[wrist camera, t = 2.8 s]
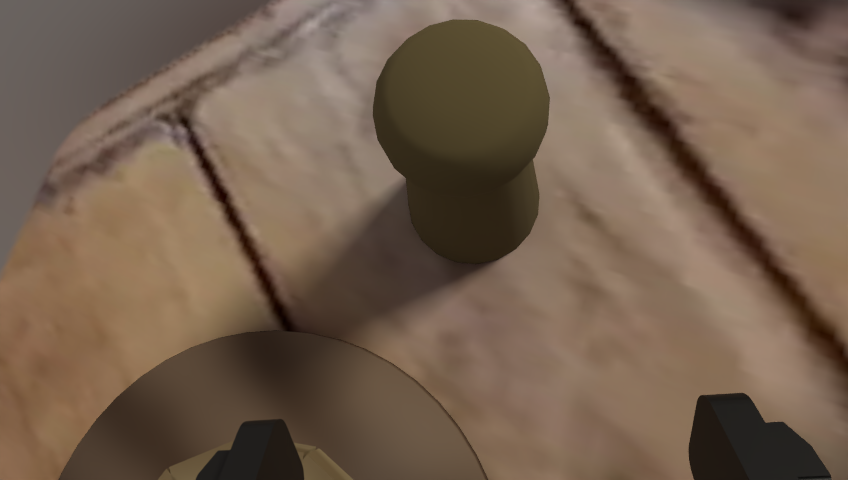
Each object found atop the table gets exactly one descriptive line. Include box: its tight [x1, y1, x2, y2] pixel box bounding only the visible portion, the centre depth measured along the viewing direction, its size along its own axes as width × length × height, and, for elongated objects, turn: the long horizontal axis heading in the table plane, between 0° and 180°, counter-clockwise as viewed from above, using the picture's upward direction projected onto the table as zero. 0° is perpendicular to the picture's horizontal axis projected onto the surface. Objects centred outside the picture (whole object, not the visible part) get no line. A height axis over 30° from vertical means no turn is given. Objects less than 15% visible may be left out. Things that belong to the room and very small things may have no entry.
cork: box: [373, 20, 550, 264], centre depth 20 cm, size 6×6×11 cm
